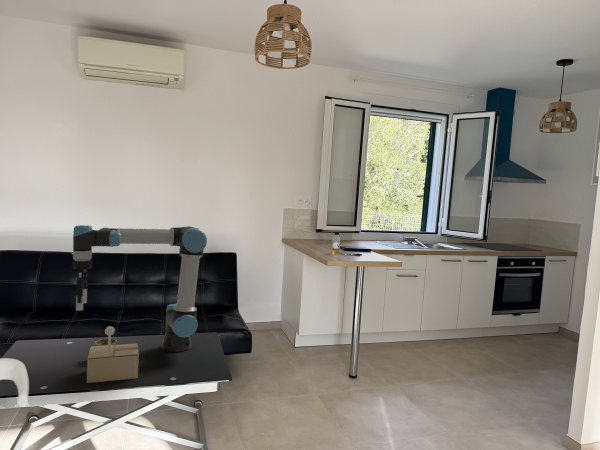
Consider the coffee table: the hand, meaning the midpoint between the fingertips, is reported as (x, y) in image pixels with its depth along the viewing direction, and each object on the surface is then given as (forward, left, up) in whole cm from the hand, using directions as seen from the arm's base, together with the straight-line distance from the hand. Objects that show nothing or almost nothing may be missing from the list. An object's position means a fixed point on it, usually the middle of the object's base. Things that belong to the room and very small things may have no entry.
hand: (81, 306), depth 197 cm
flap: (-9, +12, -17) cm, 23 cm away
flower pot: (-10, -8, -28) cm, 31 cm away
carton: (-14, +12, -28) cm, 34 cm away
